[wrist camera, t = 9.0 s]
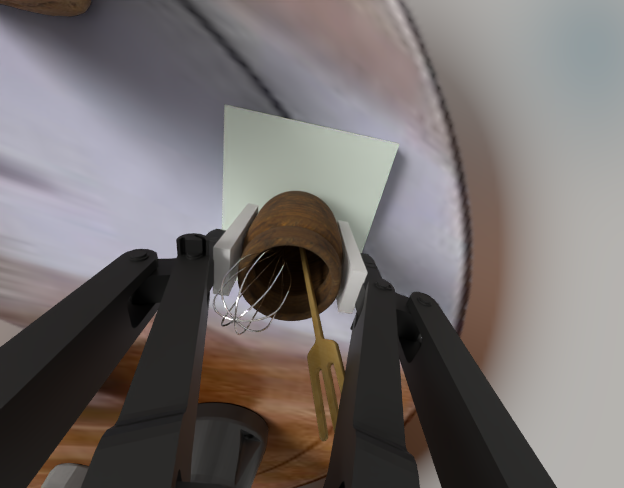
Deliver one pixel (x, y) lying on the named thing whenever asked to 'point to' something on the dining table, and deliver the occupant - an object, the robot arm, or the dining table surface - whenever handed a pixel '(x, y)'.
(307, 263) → the utensil holder
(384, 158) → the sage board
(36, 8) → the block
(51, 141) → the dining table surface
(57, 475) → the coffeepot
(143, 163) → the dining table surface
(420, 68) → the dining table surface
